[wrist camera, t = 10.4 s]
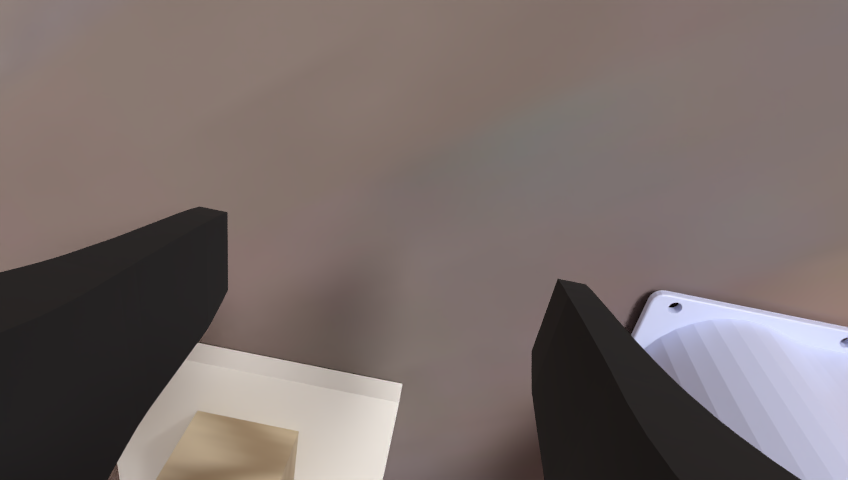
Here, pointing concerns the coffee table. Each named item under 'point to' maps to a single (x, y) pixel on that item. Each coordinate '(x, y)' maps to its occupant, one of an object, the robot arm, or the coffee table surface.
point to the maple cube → (232, 451)
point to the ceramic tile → (273, 413)
